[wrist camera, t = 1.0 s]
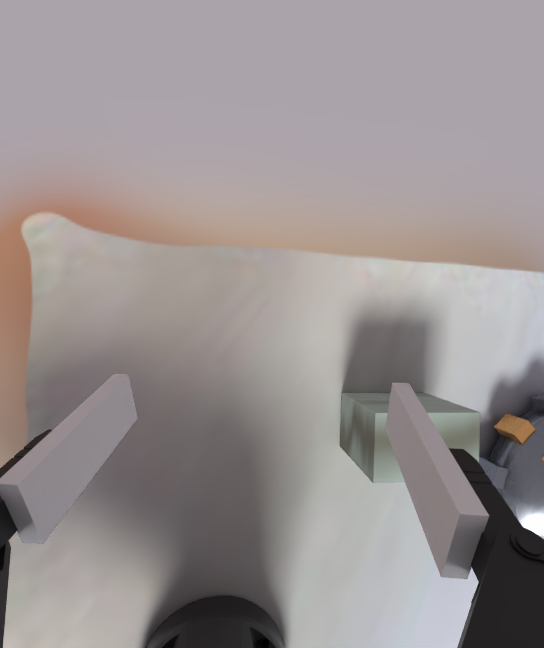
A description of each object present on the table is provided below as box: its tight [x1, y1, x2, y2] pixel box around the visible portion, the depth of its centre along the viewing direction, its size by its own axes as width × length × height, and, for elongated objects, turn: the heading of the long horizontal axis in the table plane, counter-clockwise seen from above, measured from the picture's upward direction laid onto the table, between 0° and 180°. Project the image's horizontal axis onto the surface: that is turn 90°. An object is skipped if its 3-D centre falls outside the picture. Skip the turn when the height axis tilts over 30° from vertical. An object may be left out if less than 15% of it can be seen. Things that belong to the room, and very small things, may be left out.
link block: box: [340, 393, 480, 483], centre depth 31 cm, size 6×10×8 cm, turn 88°
